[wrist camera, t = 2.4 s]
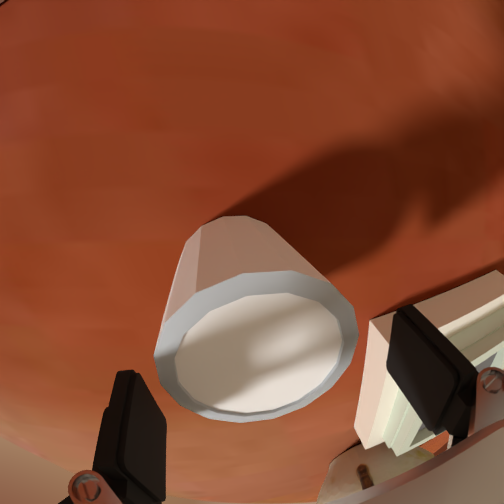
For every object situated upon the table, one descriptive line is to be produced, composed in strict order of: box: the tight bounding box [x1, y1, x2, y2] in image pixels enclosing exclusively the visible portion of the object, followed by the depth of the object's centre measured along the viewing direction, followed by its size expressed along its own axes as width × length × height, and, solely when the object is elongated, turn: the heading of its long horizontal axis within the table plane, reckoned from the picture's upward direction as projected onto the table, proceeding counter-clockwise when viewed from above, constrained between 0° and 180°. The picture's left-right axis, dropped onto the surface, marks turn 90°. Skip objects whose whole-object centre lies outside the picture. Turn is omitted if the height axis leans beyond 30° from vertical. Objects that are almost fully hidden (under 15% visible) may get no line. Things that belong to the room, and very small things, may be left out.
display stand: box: [354, 270, 504, 456], centre depth 20 cm, size 14×14×6 cm
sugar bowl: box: [317, 442, 435, 504], centre depth 22 cm, size 20×15×15 cm
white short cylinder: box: [154, 216, 359, 423], centre depth 12 cm, size 7×7×7 cm
